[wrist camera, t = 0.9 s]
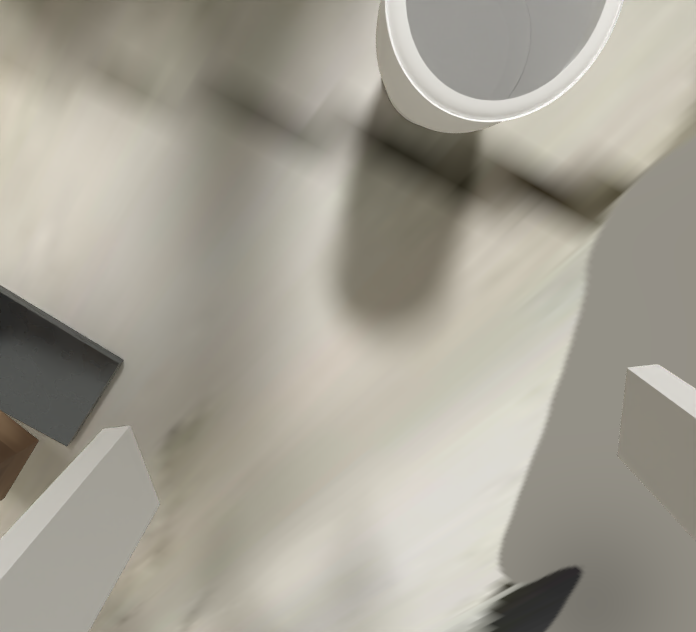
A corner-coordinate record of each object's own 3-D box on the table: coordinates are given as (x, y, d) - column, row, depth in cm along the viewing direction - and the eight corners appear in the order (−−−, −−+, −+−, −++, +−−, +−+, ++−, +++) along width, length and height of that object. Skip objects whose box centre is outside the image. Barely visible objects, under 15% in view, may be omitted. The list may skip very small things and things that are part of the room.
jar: (432, 170, 34) (491, 171, 20) (341, 73, 32) (334, -3, 18) (534, 62, 31) (685, -25, 17) (442, -52, 29) (530, -262, 15)
